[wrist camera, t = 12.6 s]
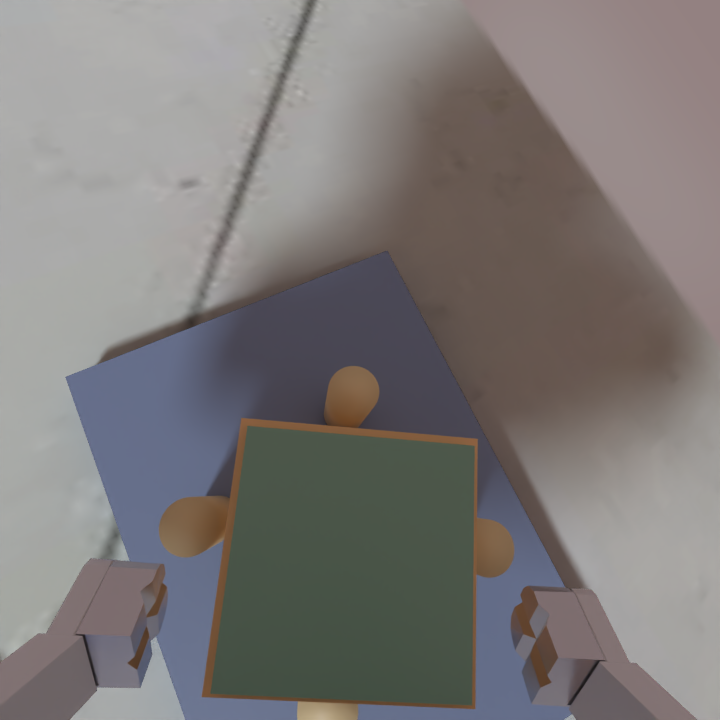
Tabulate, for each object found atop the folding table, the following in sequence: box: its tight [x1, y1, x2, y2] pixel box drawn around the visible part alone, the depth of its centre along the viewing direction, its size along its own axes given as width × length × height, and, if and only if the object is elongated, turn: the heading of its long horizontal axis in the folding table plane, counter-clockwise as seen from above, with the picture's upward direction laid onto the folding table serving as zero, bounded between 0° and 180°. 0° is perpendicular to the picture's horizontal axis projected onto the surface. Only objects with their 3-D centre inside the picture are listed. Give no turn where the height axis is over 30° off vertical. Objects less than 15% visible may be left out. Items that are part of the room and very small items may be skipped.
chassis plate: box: [66, 251, 572, 720], centre depth 17 cm, size 19×14×6 cm
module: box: [202, 418, 478, 709], centre depth 14 cm, size 5×5×9 cm
